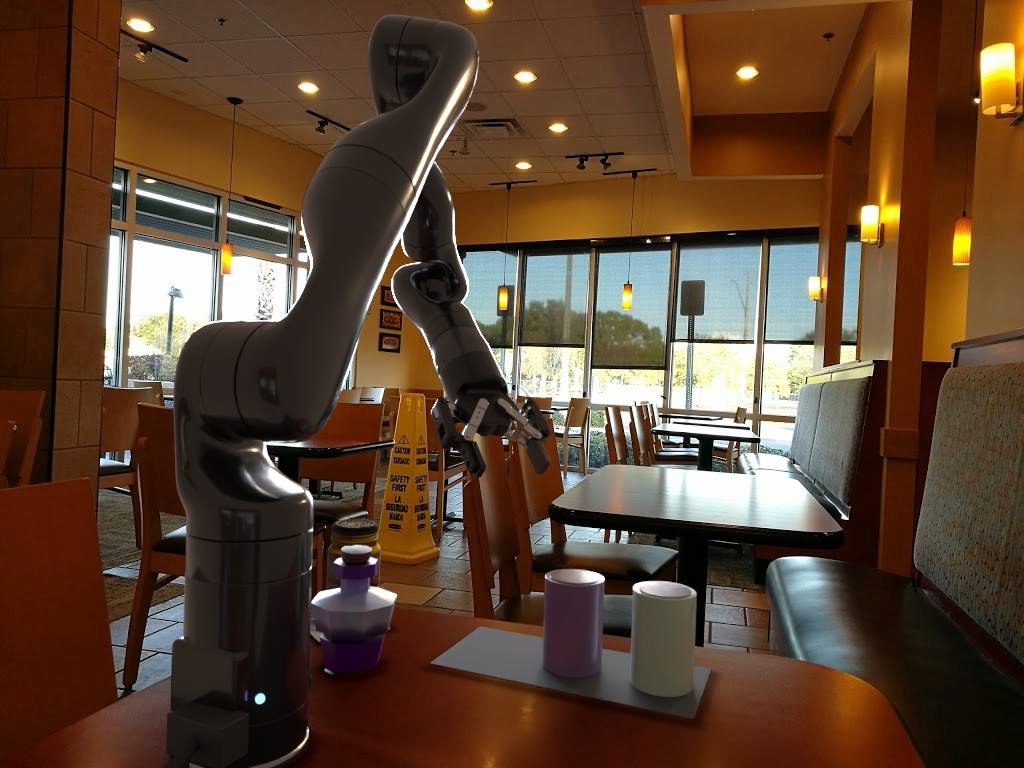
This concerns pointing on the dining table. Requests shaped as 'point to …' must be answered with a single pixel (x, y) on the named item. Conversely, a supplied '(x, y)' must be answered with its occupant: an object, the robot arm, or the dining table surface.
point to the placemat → (523, 664)
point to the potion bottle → (353, 614)
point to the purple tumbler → (573, 623)
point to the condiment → (350, 535)
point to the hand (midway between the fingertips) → (513, 471)
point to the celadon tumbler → (663, 638)
